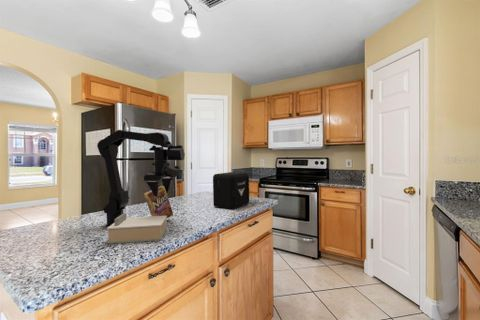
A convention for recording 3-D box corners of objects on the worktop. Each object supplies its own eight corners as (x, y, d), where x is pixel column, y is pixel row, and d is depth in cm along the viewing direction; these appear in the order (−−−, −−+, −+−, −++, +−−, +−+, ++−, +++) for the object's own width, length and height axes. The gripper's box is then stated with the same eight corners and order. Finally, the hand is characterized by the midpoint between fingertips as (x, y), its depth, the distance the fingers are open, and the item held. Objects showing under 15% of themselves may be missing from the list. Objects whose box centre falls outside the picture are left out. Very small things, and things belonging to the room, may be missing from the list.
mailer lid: (107, 229, 83) (106, 221, 83) (120, 219, 97) (120, 212, 97) (160, 226, 86) (160, 218, 86) (167, 216, 99) (166, 209, 99)
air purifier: (233, 210, 132) (232, 175, 131) (213, 207, 139) (212, 174, 139) (251, 203, 148) (250, 172, 148) (232, 201, 156) (231, 172, 156)
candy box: (157, 224, 106) (146, 194, 103) (153, 222, 110) (142, 193, 106) (174, 215, 112) (164, 186, 109) (170, 213, 115) (160, 185, 112)
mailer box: (108, 243, 84) (108, 229, 84) (121, 232, 97) (121, 220, 96) (160, 240, 86) (160, 226, 86) (166, 229, 99) (166, 217, 99)
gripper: (166, 161, 95) (167, 199, 96) (186, 159, 113) (186, 191, 114) (142, 161, 97) (143, 198, 98) (165, 160, 116) (165, 191, 116)
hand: (161, 194), depth 106 cm, fingers open, 9 cm apart
